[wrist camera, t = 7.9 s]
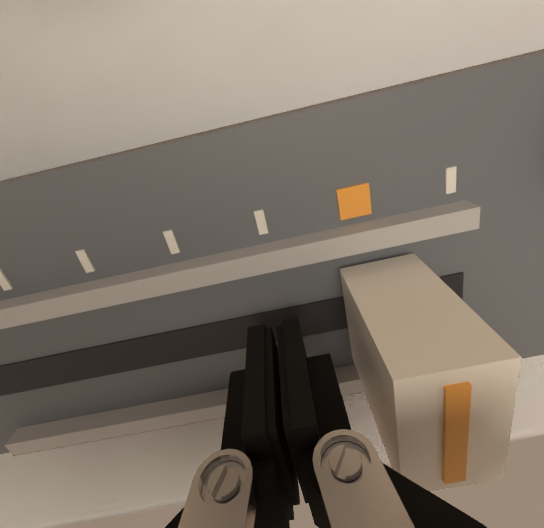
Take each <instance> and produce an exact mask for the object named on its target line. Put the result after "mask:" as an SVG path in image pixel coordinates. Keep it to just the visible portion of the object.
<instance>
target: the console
mask: <svg viewBox="0 0 544 528" xmlns="http://www.w3.org/2000/svg"><path fill="white" fill-rule="evenodd" d="M412 253H414V254H415V255H416V256H417V257H418V258H420V259H421V260H422V261H423V262H424V263H425V264H426V265H427V266H428V267H429V268H430V269H431V270H432V271H433V272H434V273H435V274H436V275H437V276H438V277H439V278H440V279H441V280H442V281H443V282H444V283H445V284H446V285H447V286H448V287H450V288H451V289H452V290H453V291H454V292H455V293H456V294H457V295H458V296H459V297H460V298H461V299H462V300H463V301H464V302H465V303H466V304H467V305H468V306H469V307H470V308H471V309H472V310H473V311H474V312H475V313H476V314H477V315H478V316H480V317H481V318H482V319H483V320H484V321H485V322H486V323H487V324H488V325H489V326H490V327H491V328H492V329H493V330H494V331H495V332H496V333H497V334H498V335H499V336H500V337H501V338H502V339H503V340H504V341H505V342H506V343H507V344H509V345H510V346H511V347H512V348H513V349H514V350H515V351H516V352H517V353H518V354H519V355H520V356H521V357H522V358H527V357H532V356H537V355H543V354H544V49H543V50H538V51H534V52H530V53H526V54H522V55H518V56H514V57H510V58H505V59H501V60H497V61H493V62H489V63H485V64H481V65H477V66H473V67H468V68H464V69H460V70H456V71H452V72H448V73H444V74H440V75H436V76H431V77H427V78H423V79H419V80H415V81H411V82H407V83H403V84H398V85H394V86H390V87H386V88H382V89H378V90H374V91H370V92H366V93H361V94H357V95H353V96H349V97H345V98H341V99H337V100H333V101H328V102H324V103H320V104H316V105H312V106H308V107H304V108H300V109H296V110H291V111H287V112H283V113H279V114H275V115H271V116H267V117H263V118H259V119H254V120H250V121H246V122H242V123H238V124H234V125H230V126H226V127H221V128H217V129H213V130H209V131H205V132H201V133H197V134H193V135H189V136H184V137H180V138H176V139H172V140H168V141H164V142H160V143H156V144H152V145H147V146H143V147H139V148H135V149H131V150H127V151H123V152H119V153H114V154H110V155H106V156H102V157H98V158H94V159H90V160H86V161H82V162H77V163H73V164H69V165H65V166H61V167H57V168H53V169H49V170H44V171H40V172H36V173H32V174H28V175H24V176H20V177H16V178H12V179H7V180H3V181H0V454H3V453H9V452H11V453H12V455H13V456H16V455H21V454H27V453H32V452H38V451H43V450H49V449H54V448H60V447H65V446H71V445H76V444H82V443H87V442H93V441H98V440H104V439H109V438H115V437H120V436H125V435H131V434H136V433H142V432H147V431H153V430H158V429H164V428H169V427H175V426H180V425H186V424H191V423H197V422H202V421H208V420H213V419H219V418H224V417H225V411H226V403H227V394H228V386H229V377H230V373H231V372H233V371H238V370H243V369H245V363H246V347H247V330H248V327H251V326H256V325H261V324H265V326H266V328H268V327H272V329H273V333H274V337H275V340H276V344H277V331H276V326H278V325H282V320H286V319H291V318H296V317H298V319H299V323H300V328H301V332H302V337H303V341H304V346H305V350H306V355H307V357H312V356H317V355H322V354H328V353H330V355H331V359H332V362H333V366H334V369H335V373H336V377H337V380H338V384H339V388H340V391H341V395H342V396H345V395H350V394H356V393H361V392H365V391H364V389H363V386H362V383H361V380H360V378H359V375H358V372H357V369H356V367H355V364H354V361H353V358H352V352H351V345H350V338H349V331H348V324H347V318H346V311H345V304H344V297H343V290H342V283H341V276H340V270H339V269H340V268H345V267H350V266H355V265H360V264H364V263H369V262H374V261H379V260H383V259H388V258H393V257H398V256H403V255H407V254H412ZM277 348H278V346H277Z"/></svg>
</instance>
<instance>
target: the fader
mask: <svg viewBox="0 0 544 528" xmlns="http://www.w3.org/2000/svg"><path fill="white" fill-rule="evenodd" d="M339 270H340V276H341V283H342V290H343V297H344V304H345V311H346V318H347V324H348V331H349V338H350V345H351V352H352V358H353V361H354V364H355V367H356V369H357V372H358V375H359V378H360V380H361V383H362V386H363V389H364V391H365V394H366V397H367V400H368V402H369V405H370V408H371V411H372V414H373V416H374V419H375V422H376V425H377V427H378V430H379V433H380V436H381V438H382V441H383V444H384V447H385V449H386V452H387V455H388V458H389V460H390V463H391V466H392V469H393V470H395V471H396V472H398V473H400V474H401V475H403V476H405V477H406V478H408V479H410V480H411V481H413V482H414V483H416V484H418V485H419V486H421V487H423V488H424V489H426V490H428V491H432V490H439V489H445V488H451V487H457V486H463V485H469V484H476V483H483V482H488V481H495V480H501V479H504V472H505V466H506V459H507V452H508V446H509V439H510V432H511V425H512V419H513V412H514V405H515V398H516V392H517V385H518V378H519V371H520V365H521V358H522V357H521V356H520V355H519V354H518V353H517V352H516V351H515V350H514V349H513V348H512V347H511V346H510V345H509V344H507V343H506V342H505V341H504V340H503V339H502V338H501V337H500V336H499V335H498V334H497V333H496V332H495V331H494V330H493V329H492V328H491V327H490V326H489V325H488V324H487V323H486V322H485V321H484V320H483V319H482V318H481V317H480V316H478V315H477V314H476V313H475V312H474V311H473V310H472V309H471V308H470V307H469V306H468V305H467V304H466V303H465V302H464V301H463V300H462V299H461V298H460V297H459V296H458V295H457V294H456V293H455V292H454V291H453V290H452V289H451V288H450V287H448V286H447V285H446V284H445V283H444V282H443V281H442V280H441V279H440V278H439V277H438V276H437V275H436V274H435V273H434V272H433V271H432V270H431V269H430V268H429V267H428V266H427V265H426V264H425V263H424V262H423V261H422V260H421V259H420V258H418V257H417V256H416V255H415V254H414V253H412V254H407V255H403V256H398V257H393V258H388V259H383V260H379V261H374V262H369V263H364V264H360V265H355V266H350V267H345V268H340V269H339Z"/></svg>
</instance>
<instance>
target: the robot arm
mask: <svg viewBox="0 0 544 528" xmlns="http://www.w3.org/2000/svg"><path fill="white" fill-rule="evenodd" d="M276 331H277V344H276V340H275V337H274V333H273V329H272V327H268V328H266V326H265V324H261V325H256V326H251V327H248V330H247V347H246V363H245V369H243V370H238V371H233V372H231V373H230V377H229V386H228V394H227V403H226V411H225V420H224V428H223V437H222V445H221V450H220V451H218V452H216V453H214V454H212V455H211V456H210V457H208V458H207V459H206V460H205V461H204V462H203V463H202V464H201V466H200V467H199V468H198V470H197V472H196V474H195V476H194V478H193V481H192V485H191V488H190V491H189V494H188V497H187V501H186V504H185V507H184V508H183V509H182V510H181V511H180V512H179V513H178V514H177V515H176V516H175V518H173V519H172V521H171V522H170V523H169V524H168V525H167V526H166V527H165V528H290V527H289V520H294V512H293V505H299V504H300V498H299V487H298V480H299V483H300V486H301V490H302V493H303V496H304V500H305V503H309V506H310V509H311V512H312V516H313V519H314V523H315V525H316V526H318V527H319V528H487V527H486V526H484V525H483V524H482V523H480V522H478V521H477V520H475V519H473V518H471V517H470V516H468V515H467V514H465V513H464V512H462V511H460V510H459V509H457V508H455V507H454V506H452V505H450V504H449V503H447V502H446V501H444V500H442V499H441V498H439V497H437V496H436V495H434V494H432V493H431V492H429V491H428V490H426V489H424V488H423V487H421V486H419V485H418V484H416V483H414V482H413V481H411V480H410V479H408V478H406V477H405V476H403V475H401V474H400V473H398V472H396V471H395V470H393V469H392V468H390V467H388V466H387V465H385V464H383V463H382V462H381V460H380V458H379V456H378V454H377V452H376V450H375V448H374V446H373V445H372V444H371V442H370V441H369V440H368V439H367V438H366V437H364V436H363V435H362V434H360V433H358V432H355V431H353V430H351V427H350V424H349V420H348V416H347V413H346V409H345V406H344V402H343V398H342V395H341V391H340V388H339V384H338V380H337V377H336V373H335V369H334V366H333V362H332V359H331V355H330V353H328V354H322V355H317V356H312V357H307V355H306V350H305V346H304V341H303V337H302V332H301V328H300V323H299V319H298V317H296V318H291V319H286V320H282V325H278V326H276ZM277 346H278V348H277Z"/></svg>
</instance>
